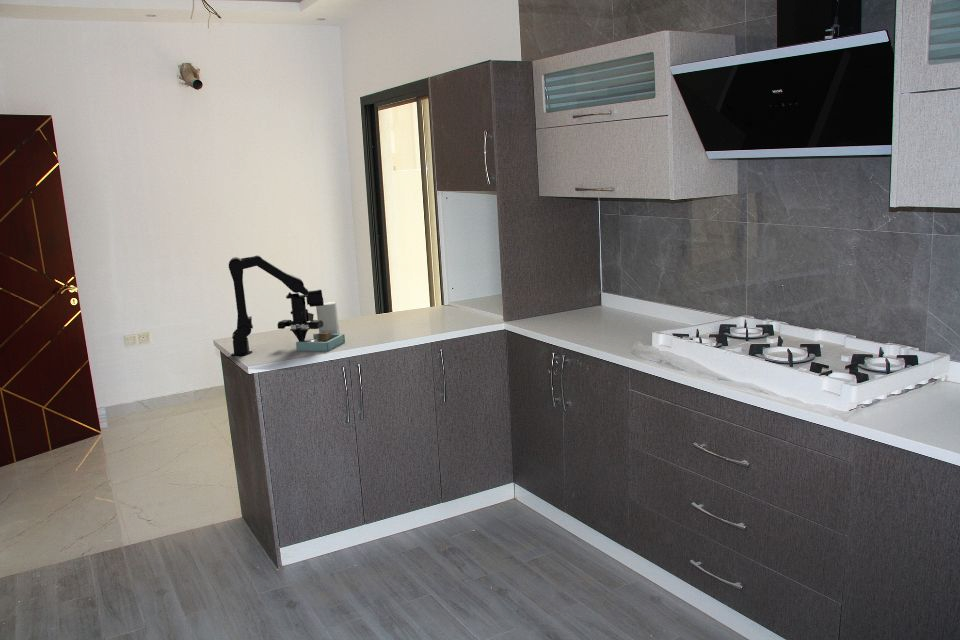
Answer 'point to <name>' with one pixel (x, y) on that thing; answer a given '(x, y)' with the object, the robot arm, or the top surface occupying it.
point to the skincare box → (328, 317)
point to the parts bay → (321, 343)
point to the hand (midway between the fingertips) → (302, 344)
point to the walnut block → (324, 336)
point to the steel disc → (311, 340)
